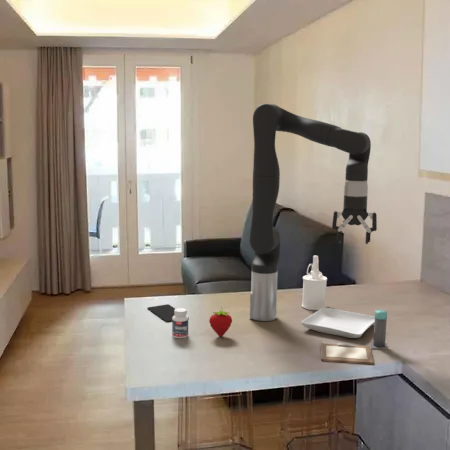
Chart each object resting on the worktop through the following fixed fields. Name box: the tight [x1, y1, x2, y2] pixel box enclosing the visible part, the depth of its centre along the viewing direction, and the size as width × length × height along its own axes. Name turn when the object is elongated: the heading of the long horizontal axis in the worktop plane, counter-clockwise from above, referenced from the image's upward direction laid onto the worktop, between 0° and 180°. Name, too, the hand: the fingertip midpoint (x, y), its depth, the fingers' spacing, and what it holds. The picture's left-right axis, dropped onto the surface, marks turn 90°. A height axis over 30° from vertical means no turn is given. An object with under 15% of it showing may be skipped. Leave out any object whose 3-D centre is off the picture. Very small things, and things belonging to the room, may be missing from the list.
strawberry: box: [208, 306, 233, 337], centre depth 195 cm, size 6×8×10 cm
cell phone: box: [146, 304, 189, 323], centre depth 219 cm, size 9×18×1 cm, turn 29°
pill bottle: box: [171, 307, 189, 339], centre depth 195 cm, size 5×5×9 cm
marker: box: [372, 309, 388, 347], centre depth 187 cm, size 4×4×11 cm
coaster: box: [370, 341, 389, 351], centre depth 188 cm, size 5×5×1 cm
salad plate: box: [300, 307, 375, 339], centre depth 205 cm, size 21×21×3 cm
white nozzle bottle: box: [301, 255, 328, 311], centre depth 228 cm, size 10×9×20 cm
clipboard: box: [320, 342, 374, 365], centre depth 182 cm, size 15×13×1 cm
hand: (353, 242), depth 198 cm, fingers open, 8 cm apart
